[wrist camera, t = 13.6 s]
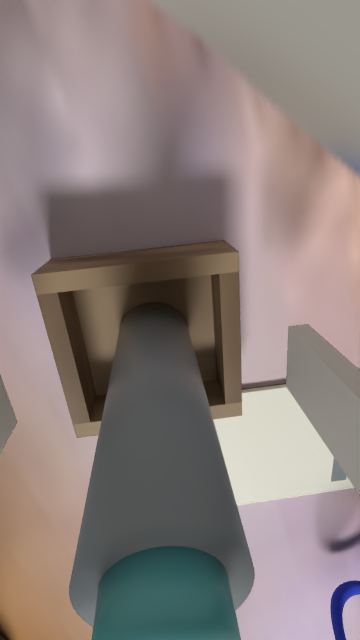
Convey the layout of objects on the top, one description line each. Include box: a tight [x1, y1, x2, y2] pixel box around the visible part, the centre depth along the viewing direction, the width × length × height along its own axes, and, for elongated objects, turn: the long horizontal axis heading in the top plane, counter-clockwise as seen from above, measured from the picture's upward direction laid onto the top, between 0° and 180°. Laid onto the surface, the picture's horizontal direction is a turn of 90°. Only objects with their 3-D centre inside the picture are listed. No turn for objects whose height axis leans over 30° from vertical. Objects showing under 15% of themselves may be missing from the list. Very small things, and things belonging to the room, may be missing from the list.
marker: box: [69, 302, 254, 640], centre depth 11 cm, size 3×3×12 cm
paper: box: [213, 384, 354, 505], centre depth 20 cm, size 14×9×1 cm, turn 95°
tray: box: [31, 240, 242, 438], centre depth 15 cm, size 8×8×3 cm
